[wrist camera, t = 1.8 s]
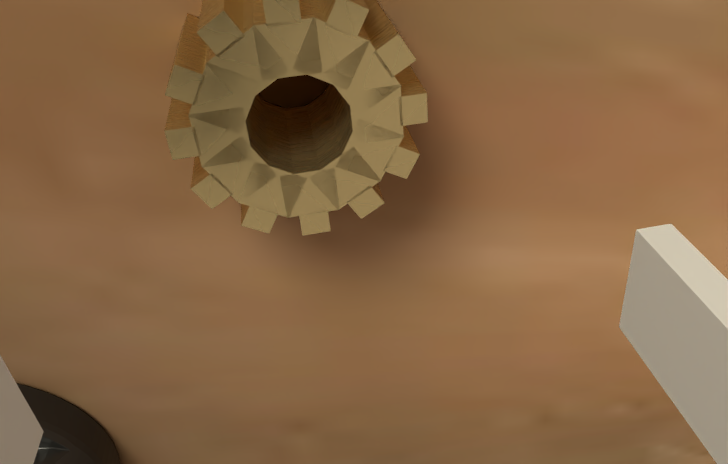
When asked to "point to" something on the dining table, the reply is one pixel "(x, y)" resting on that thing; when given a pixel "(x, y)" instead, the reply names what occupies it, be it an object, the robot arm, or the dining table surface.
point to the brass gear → (293, 125)
